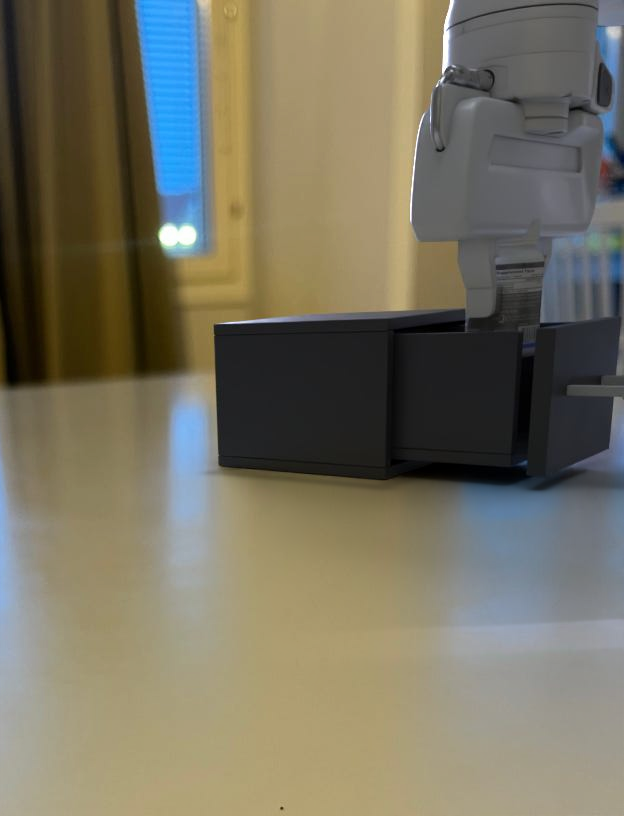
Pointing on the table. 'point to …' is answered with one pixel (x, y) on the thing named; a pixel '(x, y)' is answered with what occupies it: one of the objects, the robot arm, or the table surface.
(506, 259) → the pill bottle
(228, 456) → the cabinet
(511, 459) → the drawer
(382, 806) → the table surface
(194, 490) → the table surface
